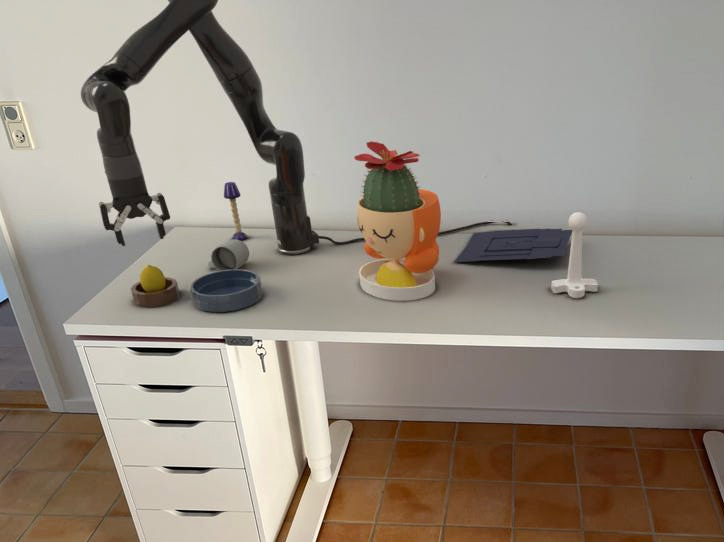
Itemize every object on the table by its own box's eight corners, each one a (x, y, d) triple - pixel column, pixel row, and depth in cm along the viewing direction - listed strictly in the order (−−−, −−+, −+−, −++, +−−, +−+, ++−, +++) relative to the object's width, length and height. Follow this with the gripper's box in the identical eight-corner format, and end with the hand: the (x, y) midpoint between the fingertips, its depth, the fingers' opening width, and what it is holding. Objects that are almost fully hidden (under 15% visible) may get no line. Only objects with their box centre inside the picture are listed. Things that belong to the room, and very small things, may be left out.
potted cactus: (401, 307, 170) (391, 160, 152) (343, 283, 183) (327, 144, 166) (463, 280, 183) (460, 142, 166) (405, 259, 197) (397, 129, 179)
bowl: (252, 280, 185) (249, 264, 183) (271, 303, 173) (268, 286, 171) (187, 294, 178) (184, 278, 175) (202, 319, 166) (198, 301, 163)
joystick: (593, 285, 180) (599, 208, 170) (600, 298, 173) (606, 219, 163) (550, 287, 179) (553, 210, 169) (555, 300, 173) (558, 220, 163)
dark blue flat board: (563, 267, 187) (563, 254, 185) (454, 271, 195) (452, 259, 193) (574, 236, 207) (573, 224, 206) (475, 241, 215) (473, 229, 213)
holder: (175, 286, 182) (172, 273, 180) (183, 301, 174) (180, 288, 173) (131, 295, 178) (128, 282, 176) (138, 311, 170) (134, 297, 168)
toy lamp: (229, 238, 213) (218, 183, 205) (243, 234, 216) (233, 179, 207) (236, 242, 210) (226, 186, 202) (251, 238, 213) (241, 183, 204)
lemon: (160, 301, 173) (152, 270, 169) (139, 299, 174) (131, 268, 170) (173, 291, 177) (165, 261, 174) (153, 290, 178) (145, 260, 174)
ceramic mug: (253, 263, 195) (248, 236, 192) (240, 274, 188) (234, 247, 185) (217, 261, 197) (211, 235, 193) (203, 273, 190) (196, 245, 186)
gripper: (92, 182, 155) (112, 252, 163) (160, 172, 161) (177, 240, 169) (88, 174, 160) (108, 242, 168) (154, 165, 166) (171, 231, 175)
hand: (142, 241), depth 169 cm, fingers open, 8 cm apart
